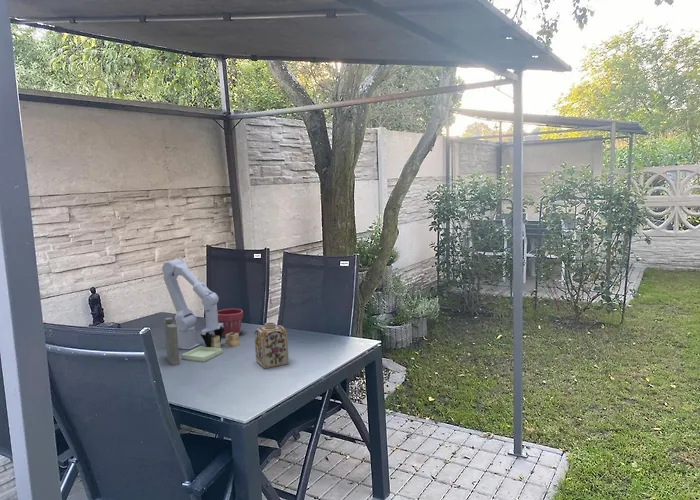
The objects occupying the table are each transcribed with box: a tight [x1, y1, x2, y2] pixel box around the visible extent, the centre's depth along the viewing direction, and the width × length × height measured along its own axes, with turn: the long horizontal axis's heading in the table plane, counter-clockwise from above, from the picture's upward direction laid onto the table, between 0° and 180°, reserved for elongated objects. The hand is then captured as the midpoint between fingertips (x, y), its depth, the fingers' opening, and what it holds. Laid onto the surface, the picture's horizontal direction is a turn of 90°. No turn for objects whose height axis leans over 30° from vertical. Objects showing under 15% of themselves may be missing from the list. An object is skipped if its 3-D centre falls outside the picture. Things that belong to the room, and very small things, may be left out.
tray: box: [181, 345, 224, 363], centre depth 242 cm, size 13×13×2 cm
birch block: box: [211, 334, 222, 349], centre depth 253 cm, size 4×4×6 cm
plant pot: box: [217, 308, 244, 338], centre depth 276 cm, size 14×14×13 cm
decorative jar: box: [253, 322, 289, 369], centre depth 228 cm, size 12×12×18 cm
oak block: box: [225, 332, 240, 348], centre depth 257 cm, size 4×4×6 cm
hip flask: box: [163, 317, 180, 366], centre depth 237 cm, size 16×4×20 cm, turn 29°
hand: (213, 345), depth 254 cm, fingers open, 7 cm apart
